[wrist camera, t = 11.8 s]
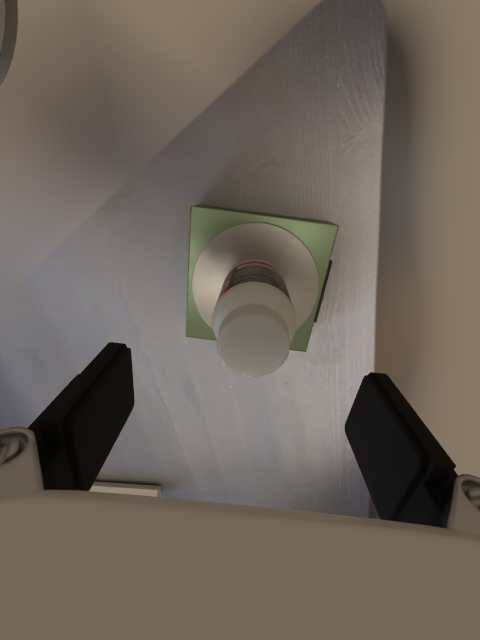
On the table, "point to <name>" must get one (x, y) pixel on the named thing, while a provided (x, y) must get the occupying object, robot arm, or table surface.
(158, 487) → the white pencil
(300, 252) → the pan
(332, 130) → the table surface
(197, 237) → the scale
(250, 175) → the table surface
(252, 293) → the pill bottle
